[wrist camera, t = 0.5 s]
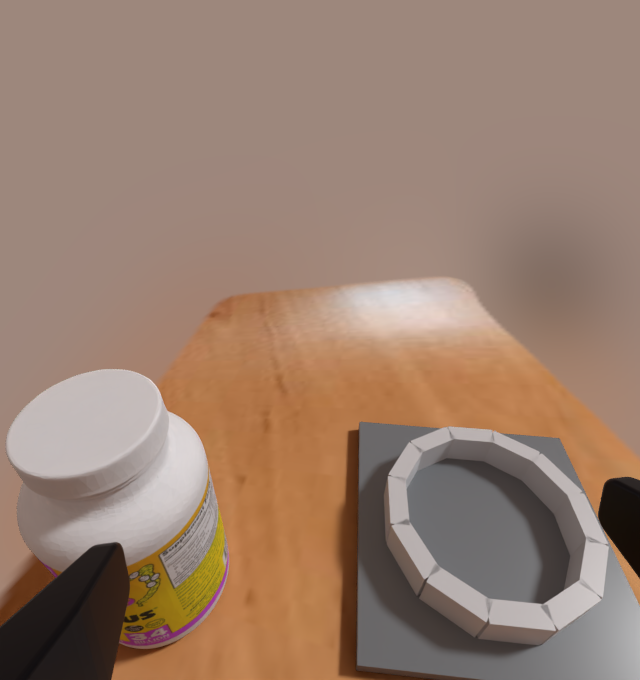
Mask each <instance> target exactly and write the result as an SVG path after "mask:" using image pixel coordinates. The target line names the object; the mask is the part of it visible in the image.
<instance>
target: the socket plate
mask: <svg viewBox="0 0 640 680" xmlns="http://www.w3.org/2000/svg"><path fill="white" fill-rule="evenodd" d="M356 670H357V671H366V672H375V673H383V674H392V675H401V676H409V677H418V678H427V679H436V680H640V606H639V604H638V601H637V599H636V597H635V595H634V593H633V591H632V589H631V587H630V585H629V583H628V581H627V578H626V576H625V574H624V572H623V570H622V568H621V566H620V564H619V562H618V560H617V558H616V556H615V553H614V551H613V549H612V547H611V545H610V543H609V541H608V539H607V537H606V535H605V533H604V530H603V528H602V526H601V524H600V522H599V520H598V518H597V516H596V514H595V512H594V510H593V508H592V505H591V503H590V501H589V499H588V497H587V495H586V493H585V491H584V489H583V487H582V485H581V482H580V480H579V478H578V476H577V474H576V472H575V470H574V468H573V466H572V464H571V462H570V460H569V457H568V455H567V453H566V451H565V449H564V447H563V445H562V443H561V441H560V439H559V438H550V437H538V436H526V435H514V434H502V433H498V432H496V431H494V432H492V430H486V429H473V428H461V427H449V426H448V428H447V427H444V428H429V427H416V426H404V425H392V424H380V423H368V422H360V423H359V450H358V535H357V621H356Z"/></svg>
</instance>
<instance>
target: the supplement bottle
mask: <svg viewBox="0 0 640 680" xmlns="http://www.w3.org/2000/svg"><path fill="white" fill-rule="evenodd" d="M6 454H7V457H8V459H9V461H10V463H11V465H12V466H13V468H14V469H15V470H16V472H17V473H18V475H19V476H20V478H21V479H22V480H23V484H22V487H21V490H20V494H19V498H18V503H17V520H18V526H19V530H20V533H21V535H22V537H23V540H24V542H25V543H26V545H27V546H28V547H29V549H30V550H31V551H32V552H33V553H34V555H35V556H36V557H37V558H38V559H39V560H40V561H41V562H42V563H43V564H44V565H45V566H46V568H47V569H48V570H49V571H50V572H51V573H52V574H53V575H54V576H55V578H56V577H57V576H58V575H60V574H61V573H62V572H63V571H64V570H65V569H66V568H68V567H69V566H70V565H71V564H72V563H73V562H74V561H75V560H77V559H78V558H79V557H80V556H81V555H82V554H83V553H85V552H86V551H87V550H88V549H89V548H91V547H92V546H94V545H97V544H103V543H111V542H118V543H120V544H121V545H122V547H123V550H124V555H125V560H126V564H127V569H128V574H129V579H130V593H129V599H128V603H127V608H126V613H125V617H124V622H123V627H122V631H121V636H120V641H119V643H120V644H122V645H125V646H128V647H132V648H138V649H150V648H157V647H161V646H165V645H168V644H170V643H173V642H175V641H177V640H179V639H181V638H183V637H184V636H186V635H187V634H189V633H190V632H191V631H193V630H194V629H195V628H196V627H197V626H198V625H200V624H201V623H202V622H203V621H204V619H205V618H206V617H207V616H208V615H209V614H210V612H211V611H212V610H213V608H214V607H215V605H216V603H217V601H218V600H219V597H220V595H221V593H222V591H223V589H224V586H225V583H226V579H227V576H228V569H229V552H228V545H227V540H226V536H225V532H224V527H223V523H222V519H221V515H220V511H219V507H218V503H217V500H216V495H215V492H214V488H213V483H212V479H211V475H210V471H209V466H208V462H207V458H206V454H205V450H204V447H203V444H202V442H201V440H200V438H199V436H198V434H197V433H196V432H195V430H194V429H193V428H192V427H191V426H190V425H189V424H188V423H187V422H186V421H184V420H183V419H182V418H180V417H179V416H177V415H175V414H173V413H171V412H168V411H167V409H166V407H165V405H164V402H163V400H162V397H161V394H160V392H159V390H158V388H157V387H156V385H155V384H154V383H153V382H152V381H151V380H150V379H148V378H147V377H145V376H143V375H141V374H139V373H136V372H133V371H128V370H120V369H105V370H97V371H91V372H87V373H83V374H79V375H77V376H73V377H71V378H69V379H66V380H64V381H62V382H59V383H57V384H55V385H53V386H52V387H50V388H48V389H47V390H45V391H44V392H42V393H41V394H39V395H38V396H37V397H36V398H34V399H33V400H32V401H31V402H30V403H29V404H28V405H27V406H26V407H25V408H24V409H23V410H22V411H21V412H20V413H19V415H18V416H17V417H16V418H15V420H14V421H13V423H12V425H11V427H10V429H9V431H8V434H7V437H6Z"/></svg>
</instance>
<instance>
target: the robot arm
mask: <svg viewBox="0 0 640 680" xmlns="http://www.w3.org/2000/svg"><path fill="white" fill-rule="evenodd" d="M598 518H599V521H600V524H601V526H602V528H603V529H604V531H605V532H606V533H607V535H608V536H609V537H610V539H611V540H612V541H613V543H614V544H615V546H616V547H617V548H618V550H619V551H620V552H621V554H622V555H623V556H624V558H625V559H626V560H627V562H628V563H629V565H630V566H631V567H632V569H633V570H634V571H635V573H636V574H637V575H638V577H639V578H640V480H637V479H635V478H631V477H621V478H613V479H609V480H607V481H606V482H605V484H604V487H603V492H602V497H601V502H600V506H599V511H598ZM129 593H130V579H129V574H128V569H127V564H126V560H125V555H124V550H123V547H122V545H121V544H120V543H118V542H111V543H103V544H97V545H94V546H92V547H91V548H89V549H88V550H87V551H86V552H85V553H83V554H82V555H81V556H80V557H79V558H78V559H77V560H75V561H74V562H73V563H72V564H71V565H70V566H69V567H68V568H66V569H65V570H64V571H63V572H62V573H61V574H60V575H58V576H57V577H56V578H55V579H54V580H53V581H52V582H50V583H49V584H48V585H47V586H46V587H45V588H44V589H43V590H41V591H40V592H39V593H38V594H37V595H36V596H35V597H33V598H32V599H31V600H30V601H29V602H28V603H27V604H26V605H24V606H23V607H22V608H21V609H20V610H19V611H18V612H16V613H15V614H14V615H13V616H12V617H11V618H10V619H8V620H7V621H6V622H5V623H4V624H3V625H2V626H1V627H0V680H111V678H112V673H113V668H114V664H115V659H116V654H117V650H118V645H119V641H120V636H121V631H122V627H123V622H124V617H125V613H126V608H127V603H128V599H129Z"/></svg>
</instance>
